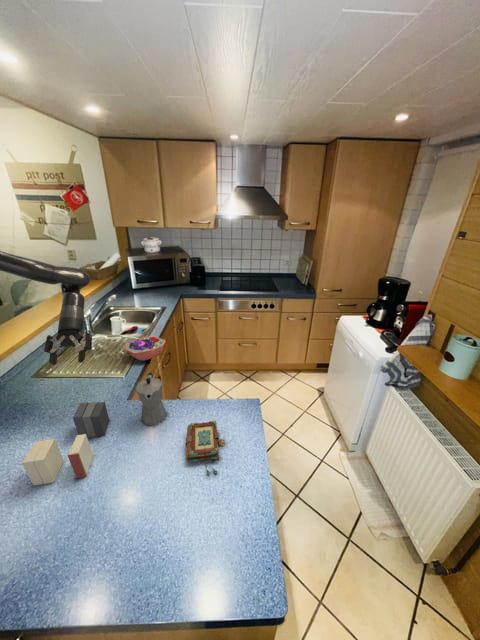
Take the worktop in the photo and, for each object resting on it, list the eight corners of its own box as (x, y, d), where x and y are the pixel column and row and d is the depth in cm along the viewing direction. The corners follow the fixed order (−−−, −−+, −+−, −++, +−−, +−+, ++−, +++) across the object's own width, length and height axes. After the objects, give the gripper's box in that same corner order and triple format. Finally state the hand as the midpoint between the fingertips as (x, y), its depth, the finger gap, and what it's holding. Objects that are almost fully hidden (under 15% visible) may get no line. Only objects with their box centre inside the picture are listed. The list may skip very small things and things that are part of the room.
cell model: (166, 363, 131) (164, 344, 126) (125, 368, 126) (121, 348, 121) (167, 347, 146) (164, 329, 141) (130, 350, 141) (126, 333, 136)
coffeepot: (167, 426, 93) (161, 388, 86) (140, 432, 91) (132, 393, 83) (166, 398, 107) (161, 363, 99) (143, 402, 104) (136, 367, 97)
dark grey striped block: (79, 439, 88) (72, 417, 84) (86, 423, 94) (80, 403, 90) (104, 435, 89) (98, 414, 85) (109, 420, 96) (104, 400, 91)
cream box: (33, 485, 73) (21, 462, 69) (45, 463, 79) (35, 441, 75) (53, 482, 74) (43, 459, 70) (63, 460, 80) (54, 438, 76)
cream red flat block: (76, 478, 75) (67, 455, 71) (84, 457, 82) (76, 435, 77) (86, 476, 76) (77, 454, 72) (93, 455, 82) (86, 433, 78)
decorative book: (185, 478, 76) (183, 467, 74) (187, 431, 92) (186, 421, 89) (228, 472, 78) (228, 461, 76) (223, 427, 94) (223, 417, 91)
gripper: (44, 317, 88) (37, 363, 82) (88, 314, 90) (84, 359, 85) (55, 324, 95) (50, 367, 89) (96, 322, 97) (93, 363, 92)
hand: (67, 363), depth 87 cm, fingers open, 8 cm apart
